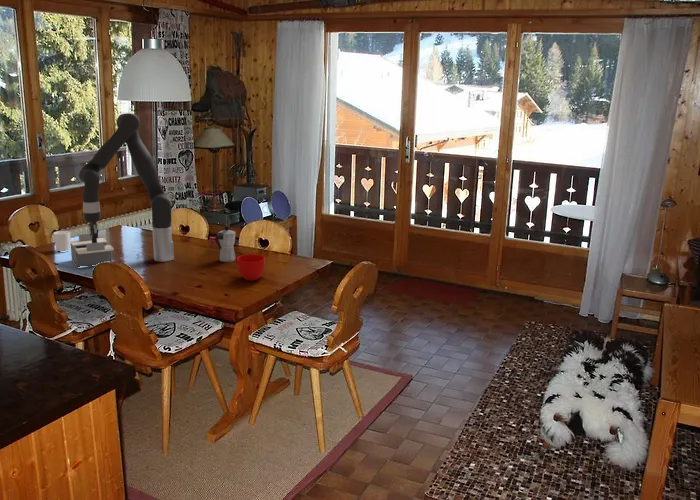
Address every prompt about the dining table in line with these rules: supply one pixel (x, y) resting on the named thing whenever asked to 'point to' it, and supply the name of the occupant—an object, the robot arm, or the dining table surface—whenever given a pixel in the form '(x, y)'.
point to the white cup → (62, 240)
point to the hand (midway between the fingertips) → (94, 246)
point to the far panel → (76, 243)
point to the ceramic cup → (250, 266)
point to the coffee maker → (226, 244)
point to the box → (89, 257)
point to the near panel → (83, 250)
